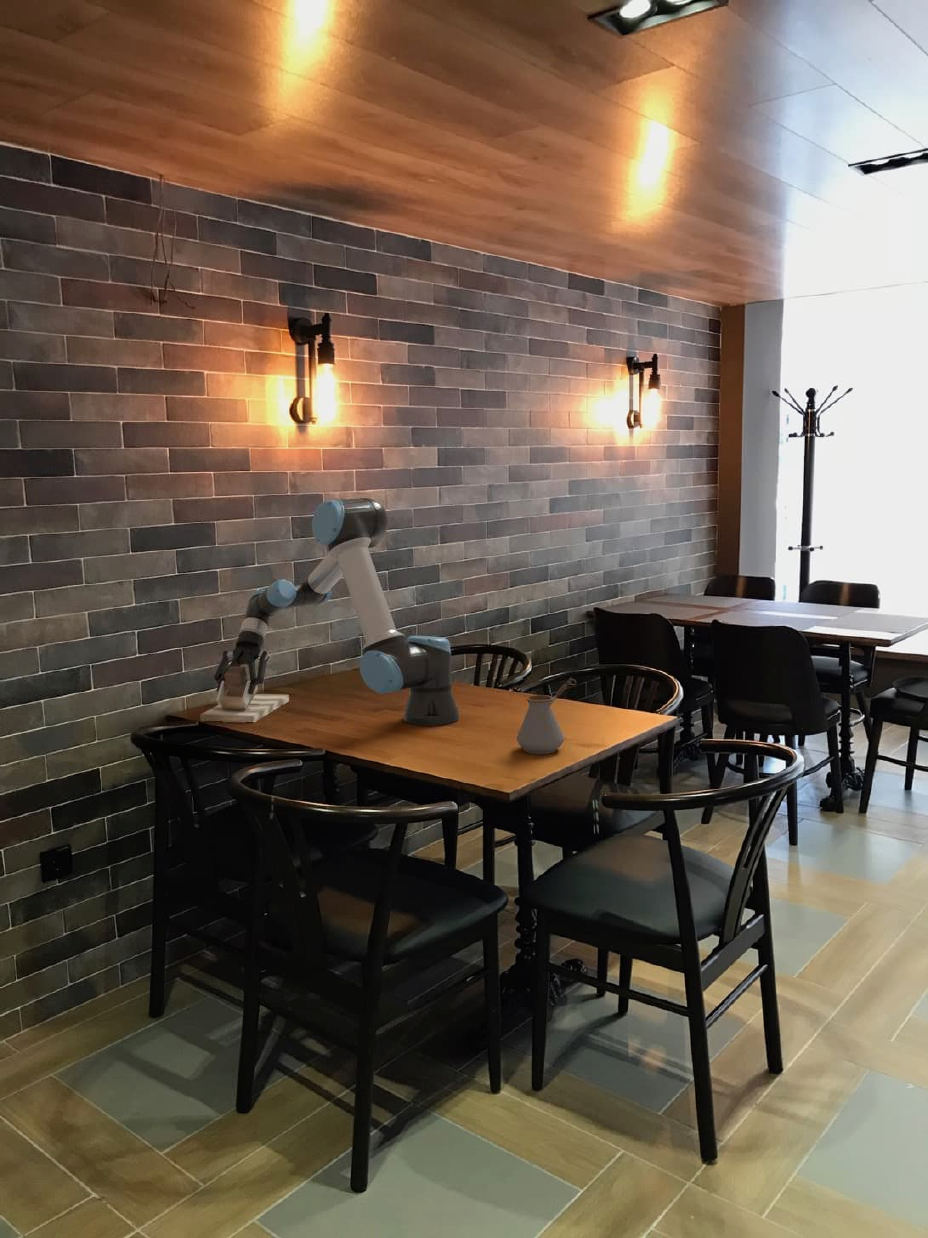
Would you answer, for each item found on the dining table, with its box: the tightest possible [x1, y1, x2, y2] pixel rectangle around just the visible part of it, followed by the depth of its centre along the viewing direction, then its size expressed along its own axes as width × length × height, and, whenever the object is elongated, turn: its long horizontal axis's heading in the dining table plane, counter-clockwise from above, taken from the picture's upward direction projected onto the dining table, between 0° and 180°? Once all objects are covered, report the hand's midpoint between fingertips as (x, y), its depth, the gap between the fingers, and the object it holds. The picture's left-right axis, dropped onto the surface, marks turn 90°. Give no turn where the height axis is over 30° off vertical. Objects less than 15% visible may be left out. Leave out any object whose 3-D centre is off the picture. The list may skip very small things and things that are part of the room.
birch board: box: [199, 693, 290, 723], centre depth 286 cm, size 26×16×2 cm, turn 168°
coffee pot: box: [516, 677, 577, 755], centre depth 239 cm, size 21×12×15 cm, turn 143°
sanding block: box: [221, 666, 259, 710], centre depth 280 cm, size 11×7×10 cm, turn 171°
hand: (231, 703), depth 276 cm, fingers closed on sanding block, 7 cm apart
